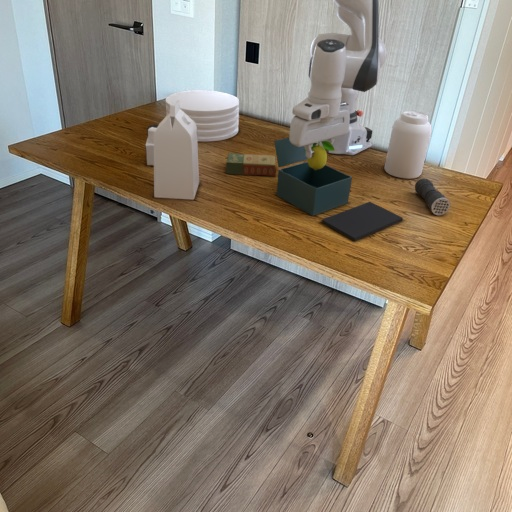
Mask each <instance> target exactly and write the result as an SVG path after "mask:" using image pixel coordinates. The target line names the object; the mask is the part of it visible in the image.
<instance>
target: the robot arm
mask: <svg viewBox="0 0 512 512" xmlns="http://www.w3.org/2000/svg"><path fill="white" fill-rule="evenodd" d="M332 1H333V2H334V4H336V8H335V14H336V16H337V18H338V19H339V20H340V22H342V23H343V24H345V25H346V26H347V27H348V28H349V30H350V34H347V33H346V34H344V33H337V32H325V33H319V34H318V35H316V36H315V37H314V39H313V40H312V42H311V45H310V59H309V66H308V78H309V80H310V87H309V89H308V94H307V97H305V98H303V100H302V101H300V102H298V103H297V104H296V105H294V106H292V109H291V110H292V111H291V113H292V115H294V116H293V117H292V119H291V122H290V126H289V137H288V138H289V140H290V142H291V144H293V145H295V146H297V147H301V146H304V147H305V150H306V157H308V158H312V157H314V151H312V149H311V147H312V146H313V143H317V144H316V145H315V146H317V145H318V144H319V143H318V142H320V144H319V145H320V146H322V147H323V145H322V142H321V141H327V142H330V143H331V144H332V145H333V147H334V150H335V151H329V150H327V149H325V148H324V147H323V148H324V149H325V151H326V153H327V154H335V155H347V156H355V155H357V154H359V153H360V152H363V151H365V150H367V149H369V148H371V147H372V146H373V142H371V141H370V140H371V139H372V137H373V130H372V129H370V128H369V127H367V126H364V125H362V124H361V122H360V121H358V117H360V118H361V117H363V115H364V112H363V110H359V109H358V110H357V103H358V97H359V96H358V95H359V92H363V93H365V92H367V91H370V90H372V89H373V88H374V87H376V86H377V83H378V81H379V79H380V75H381V68H382V67H383V66H384V65H385V63H386V60H387V56H388V52H387V51H388V50H387V46H386V44H385V42H384V41H383V40H382V39H381V38H380V37H379V36H380V29H379V28H380V13H379V12H380V10H379V9H380V7H379V6H380V5H379V0H332Z"/></svg>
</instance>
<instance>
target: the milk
mask: <svg viewBox="0 0 512 512" xmlns="http://www.w3.org/2000/svg"><path fill="white" fill-rule="evenodd" d="M157 125H158V127H157V129H156V130H155V132H154V165H153V198H159V199H176V200H191V201H193V200H195V197H196V194H197V191H198V188H199V185H200V171H199V167H200V166H199V149H198V148H199V147H198V146H199V145H198V141H197V127H196V124H195V122H194V121H193V120H192V119H191V118H190V117H189V116H188V115H187V114H186V113H184V112H183V111H182V110H181V109H180V106H179V100H176V99H174V100H173V101H172V103H171V104H170V113H169V114H168V115H167V116H166V115H165V117H164V118H163V119H161V121H160V122H159V124H157Z"/></svg>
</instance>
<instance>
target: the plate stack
mask: <svg viewBox="0 0 512 512" xmlns="http://www.w3.org/2000/svg"><path fill="white" fill-rule="evenodd" d="M174 99H176V100H179V106H180V109H181V110H182V111H183V112H184V113H186V114H187V115H188V116H189V117H190V118H191V119H192V120H193V121H194V122H195V124H196V127H197V142H218V141H219V142H220V141H224V140H228V139H230V138H233V137H235V136H236V135H237V134H238V133H239V122H240V121H239V119H240V100H239V98H238V97H237V96H235V95H232V94H230V93H227V92H223V91H216V90H205V89H194V90H193V89H191V90H190V89H189V90H183V91H177V92H174V93H170V94H168V95H167V96H166V97H165V111H166V112H165V117H166V116H167V115H168V114H169V113H170V104H171V103H172V101H173V100H174Z"/></svg>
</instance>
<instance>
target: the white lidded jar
mask: <svg viewBox="0 0 512 512" xmlns="http://www.w3.org/2000/svg"><path fill="white" fill-rule="evenodd" d="M432 132H433V131H432V124H431V123H430V121H429V115H427V114H426V113H424V112H421V111H417V110H406V111H403V112H402V113H401V114H400V117H399V118H397V119H396V120H394V122H393V124H392V128H391V132H390V136H389V137H390V138H389V143H388V147H387V152H386V157H385V161H384V168H383V169H384V171H385V173H387V174H388V175H390V176H392V177H396V178H399V179H410V180H411V179H416V178H419V177H420V176H421V175H422V173H423V169H424V165H425V162H426V157H427V154H428V149H429V145H430V141H431V137H432V134H433V133H432Z"/></svg>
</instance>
